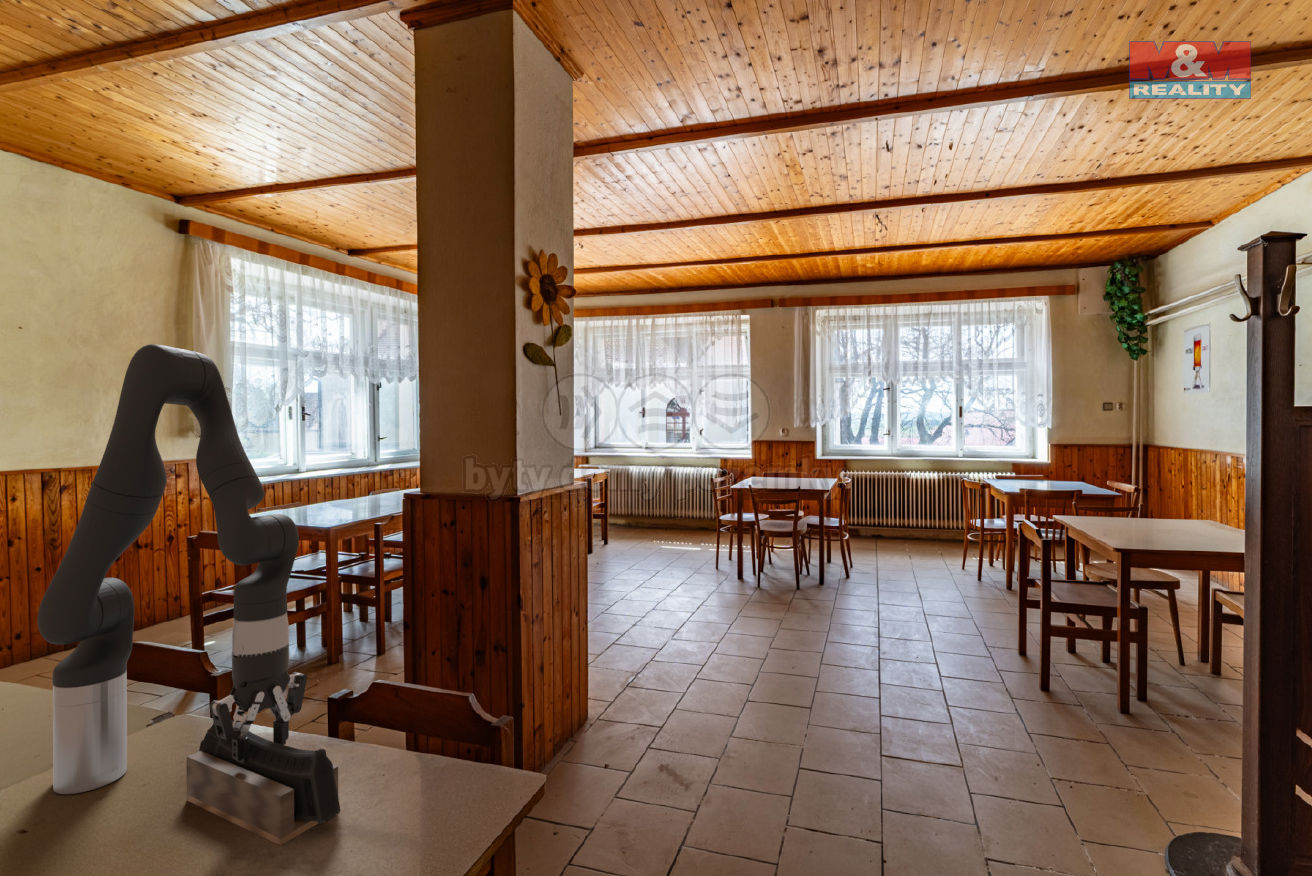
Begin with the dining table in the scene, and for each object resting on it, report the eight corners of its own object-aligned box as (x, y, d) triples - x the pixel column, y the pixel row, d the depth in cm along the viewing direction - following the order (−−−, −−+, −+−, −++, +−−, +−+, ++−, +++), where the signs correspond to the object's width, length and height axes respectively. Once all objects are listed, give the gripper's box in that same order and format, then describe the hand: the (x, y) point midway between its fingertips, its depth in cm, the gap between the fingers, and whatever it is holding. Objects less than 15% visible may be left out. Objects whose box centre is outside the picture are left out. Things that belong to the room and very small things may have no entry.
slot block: (186, 800, 99) (186, 756, 99) (245, 772, 107) (245, 732, 107) (280, 845, 88) (280, 796, 88) (338, 811, 96) (338, 766, 96)
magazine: (353, 763, 91) (233, 671, 104) (333, 773, 88) (212, 677, 101) (328, 866, 93) (213, 763, 106) (308, 879, 90) (192, 773, 103)
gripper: (290, 628, 106) (290, 728, 106) (196, 654, 93) (196, 768, 93) (319, 634, 102) (319, 738, 102) (225, 663, 90) (226, 781, 90)
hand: (261, 752), depth 98 cm, fingers open, 5 cm apart
